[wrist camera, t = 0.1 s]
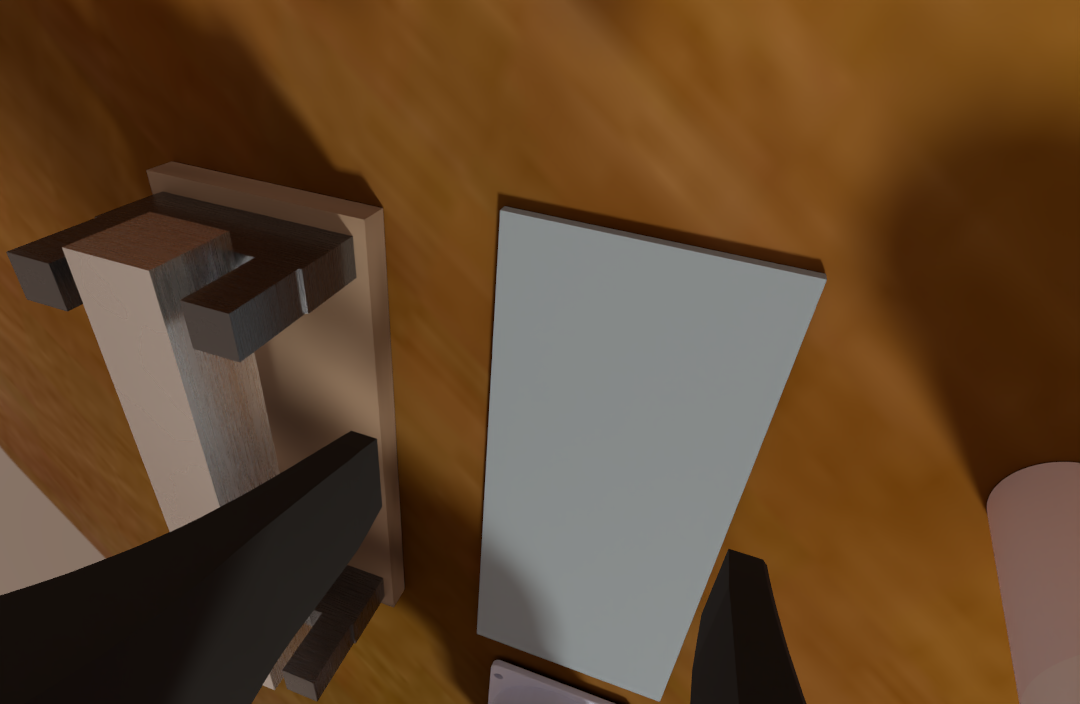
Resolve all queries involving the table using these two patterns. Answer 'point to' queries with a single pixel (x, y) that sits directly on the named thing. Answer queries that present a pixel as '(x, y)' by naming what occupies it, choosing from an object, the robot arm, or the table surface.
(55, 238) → the rack
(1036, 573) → the smoothie
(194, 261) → the rail
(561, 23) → the table surface
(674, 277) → the mat
